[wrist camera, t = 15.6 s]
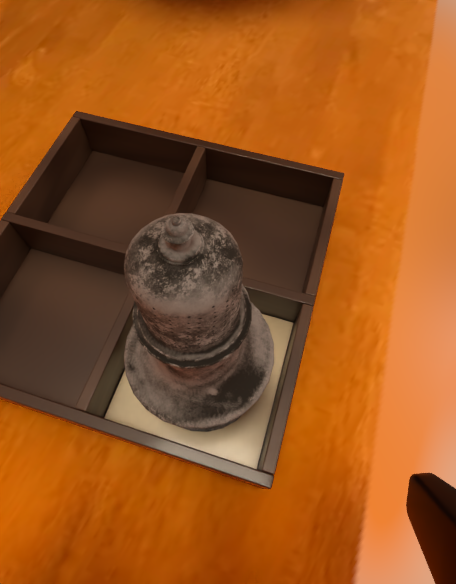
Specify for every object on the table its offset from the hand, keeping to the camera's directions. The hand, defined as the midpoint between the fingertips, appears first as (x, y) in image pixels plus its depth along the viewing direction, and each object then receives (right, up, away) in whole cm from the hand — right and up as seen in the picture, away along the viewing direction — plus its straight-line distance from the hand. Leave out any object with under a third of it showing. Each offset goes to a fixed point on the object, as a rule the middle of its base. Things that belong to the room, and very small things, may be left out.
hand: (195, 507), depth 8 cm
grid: (-3, +5, +13) cm, 14 cm away
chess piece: (0, 0, +11) cm, 11 cm away
